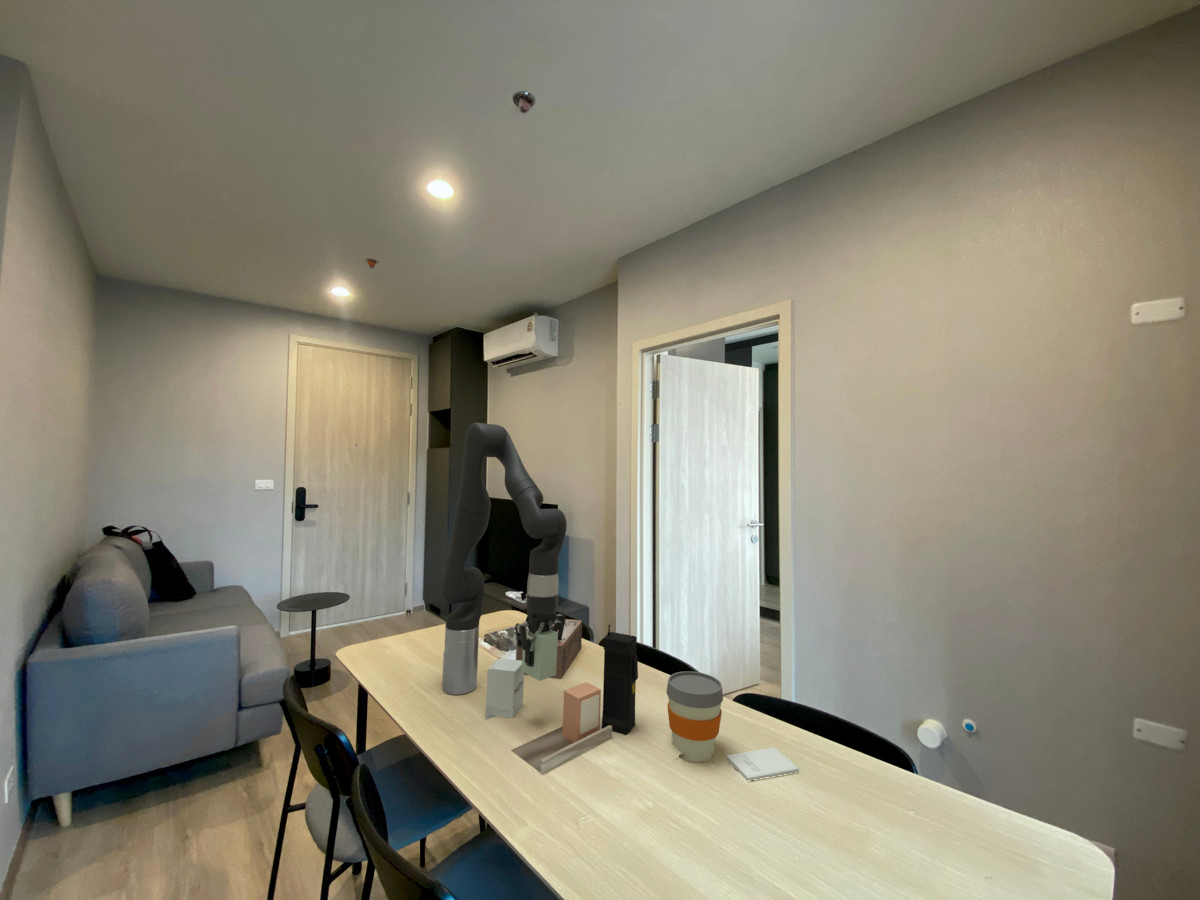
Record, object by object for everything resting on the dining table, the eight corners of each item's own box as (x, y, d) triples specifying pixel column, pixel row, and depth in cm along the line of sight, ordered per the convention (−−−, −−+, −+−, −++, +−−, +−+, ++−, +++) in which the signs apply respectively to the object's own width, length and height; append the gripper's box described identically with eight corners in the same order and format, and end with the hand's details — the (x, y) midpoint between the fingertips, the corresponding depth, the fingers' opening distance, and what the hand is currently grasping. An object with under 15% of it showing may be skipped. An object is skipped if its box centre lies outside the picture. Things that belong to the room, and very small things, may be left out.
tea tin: (539, 681, 110) (541, 637, 111) (521, 671, 115) (523, 629, 116) (556, 674, 114) (558, 632, 114) (538, 665, 119) (540, 624, 119)
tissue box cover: (561, 680, 142) (562, 645, 143) (515, 674, 145) (516, 641, 146) (581, 649, 167) (582, 620, 168) (541, 645, 170) (542, 616, 171)
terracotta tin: (562, 735, 109) (563, 690, 110) (584, 724, 114) (586, 682, 114) (577, 745, 105) (579, 698, 106) (600, 733, 110) (601, 689, 111)
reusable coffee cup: (711, 774, 99) (712, 700, 99) (656, 754, 105) (657, 685, 106) (729, 746, 109) (730, 679, 110) (678, 729, 116) (679, 666, 117)
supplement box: (512, 724, 116) (514, 671, 117) (484, 720, 117) (486, 668, 118) (523, 710, 123) (525, 660, 124) (496, 706, 125) (498, 657, 125)
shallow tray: (510, 757, 103) (511, 738, 103) (579, 724, 117) (579, 708, 117) (542, 781, 95) (542, 761, 95) (611, 743, 109) (612, 726, 109)
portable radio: (640, 730, 115) (642, 625, 116) (630, 743, 109) (633, 632, 111) (610, 722, 118) (613, 620, 119) (599, 734, 113) (603, 627, 114)
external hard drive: (798, 775, 100) (747, 785, 97) (773, 753, 108) (725, 761, 104) (798, 767, 100) (747, 776, 97) (773, 746, 108) (725, 753, 105)
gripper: (555, 584, 123) (552, 650, 123) (508, 592, 113) (505, 665, 112) (575, 590, 118) (572, 660, 117) (527, 599, 108) (524, 676, 107)
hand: (539, 662), depth 115 cm, fingers closed on tea tin, 5 cm apart
